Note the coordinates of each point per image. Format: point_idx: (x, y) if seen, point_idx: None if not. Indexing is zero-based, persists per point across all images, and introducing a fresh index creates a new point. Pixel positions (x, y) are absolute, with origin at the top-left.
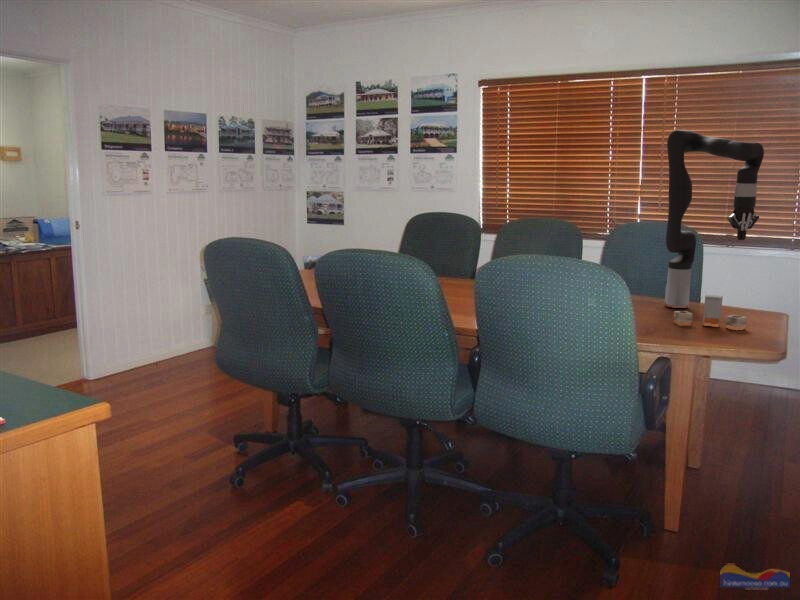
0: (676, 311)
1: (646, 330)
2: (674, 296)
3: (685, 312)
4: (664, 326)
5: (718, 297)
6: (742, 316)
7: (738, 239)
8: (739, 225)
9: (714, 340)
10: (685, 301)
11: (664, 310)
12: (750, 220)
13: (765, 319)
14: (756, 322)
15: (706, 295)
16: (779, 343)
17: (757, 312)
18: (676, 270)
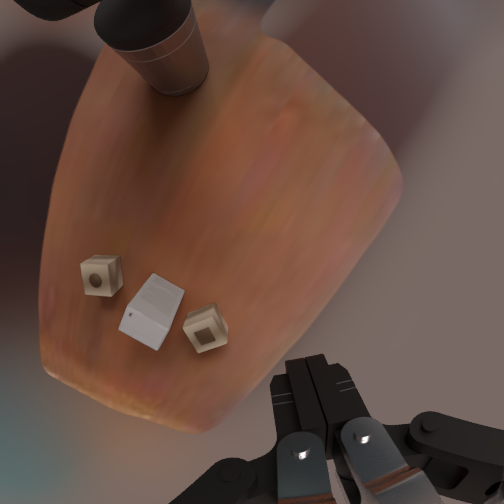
0: (84, 268)
1: (44, 304)
2: (146, 80)
3: (98, 287)
4: (73, 280)
5: (149, 346)
6: (219, 336)
7: (286, 367)
8: (313, 491)
9: (134, 380)
10: (183, 87)
11: (126, 110)
12: (489, 477)
13: (338, 233)
14: (296, 262)
15: (123, 320)
16: (236, 405)
17: (366, 155)
18: (113, 49)
